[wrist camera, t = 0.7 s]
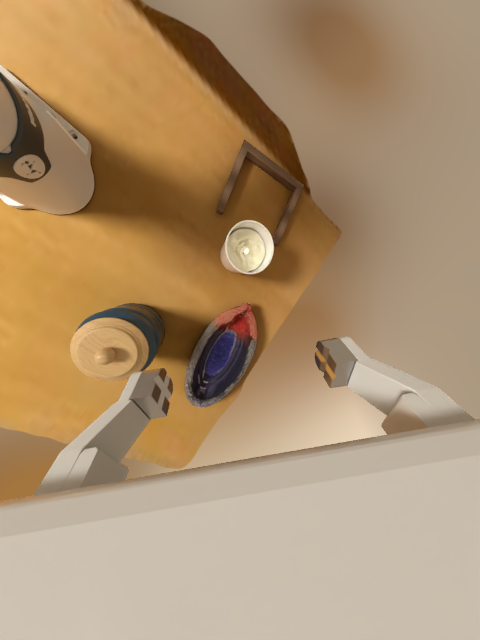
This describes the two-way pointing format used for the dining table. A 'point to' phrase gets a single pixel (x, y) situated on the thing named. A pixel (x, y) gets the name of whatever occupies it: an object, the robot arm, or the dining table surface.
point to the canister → (117, 342)
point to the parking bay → (273, 171)
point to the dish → (221, 356)
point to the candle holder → (247, 248)
